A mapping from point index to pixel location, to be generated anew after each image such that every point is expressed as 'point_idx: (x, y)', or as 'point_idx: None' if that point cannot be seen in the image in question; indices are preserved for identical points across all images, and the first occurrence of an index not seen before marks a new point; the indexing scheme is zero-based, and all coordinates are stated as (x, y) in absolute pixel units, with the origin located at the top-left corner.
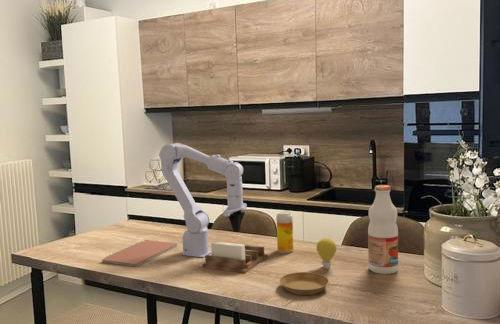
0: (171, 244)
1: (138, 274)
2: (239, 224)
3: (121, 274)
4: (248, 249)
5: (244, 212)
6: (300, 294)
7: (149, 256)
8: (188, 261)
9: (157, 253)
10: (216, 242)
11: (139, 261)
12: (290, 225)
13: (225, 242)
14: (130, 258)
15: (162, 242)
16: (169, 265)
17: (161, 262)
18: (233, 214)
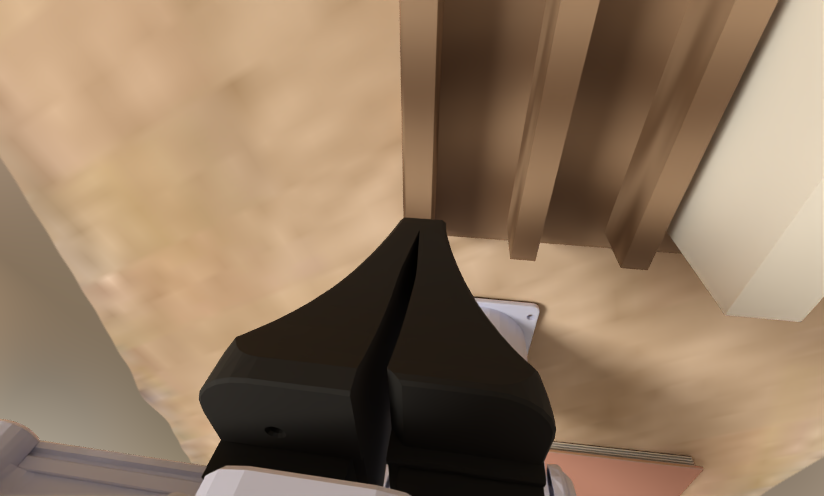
0: None
1: (808, 431)
2: (424, 261)
3: (794, 467)
4: (438, 46)
5: (247, 370)
6: None
7: (595, 460)
8: (606, 337)
9: (549, 451)
10: (777, 291)
11: (667, 468)
12: None
13: (801, 211)
14: (627, 492)
15: None
16: (676, 380)
17: (629, 412)
18: (535, 488)
